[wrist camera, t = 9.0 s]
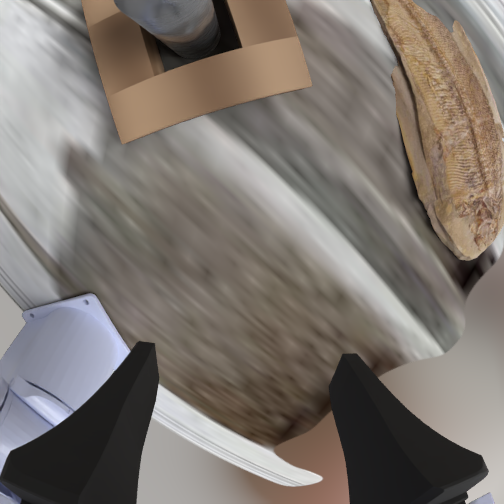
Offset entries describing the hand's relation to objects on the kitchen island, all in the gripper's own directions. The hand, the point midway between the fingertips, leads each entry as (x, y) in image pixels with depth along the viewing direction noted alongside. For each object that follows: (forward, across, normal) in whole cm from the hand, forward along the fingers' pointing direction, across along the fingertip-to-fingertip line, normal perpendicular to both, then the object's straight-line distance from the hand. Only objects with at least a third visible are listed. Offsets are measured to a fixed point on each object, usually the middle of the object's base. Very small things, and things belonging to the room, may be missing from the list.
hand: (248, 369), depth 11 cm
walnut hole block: (+10, +4, -13) cm, 17 cm away
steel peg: (+10, +4, -13) cm, 17 cm away
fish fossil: (+11, -13, -13) cm, 21 cm away
